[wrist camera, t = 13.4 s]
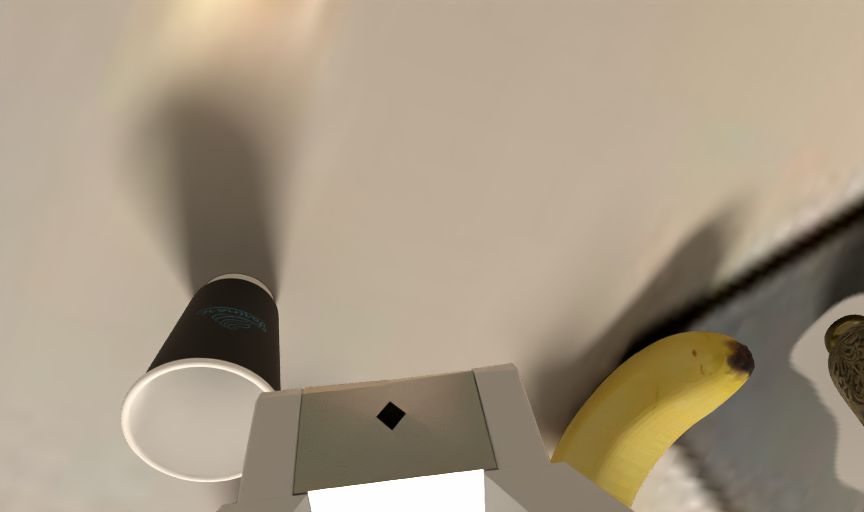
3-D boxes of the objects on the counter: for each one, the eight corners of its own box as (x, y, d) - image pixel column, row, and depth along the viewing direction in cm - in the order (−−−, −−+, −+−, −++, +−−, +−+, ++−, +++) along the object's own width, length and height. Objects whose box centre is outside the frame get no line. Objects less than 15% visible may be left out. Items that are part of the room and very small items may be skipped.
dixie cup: (204, 369, 45) (165, 500, 35) (149, 272, 41) (88, 389, 32) (317, 336, 45) (308, 459, 35) (272, 235, 41) (248, 342, 31)
